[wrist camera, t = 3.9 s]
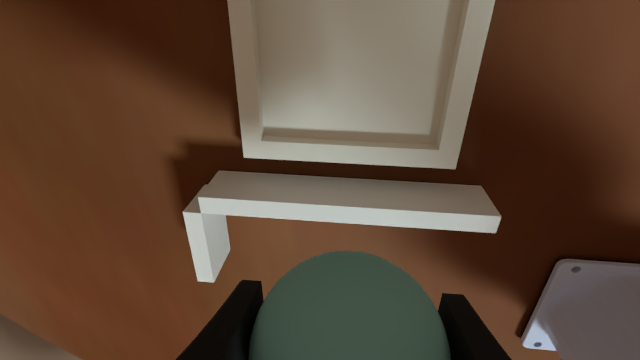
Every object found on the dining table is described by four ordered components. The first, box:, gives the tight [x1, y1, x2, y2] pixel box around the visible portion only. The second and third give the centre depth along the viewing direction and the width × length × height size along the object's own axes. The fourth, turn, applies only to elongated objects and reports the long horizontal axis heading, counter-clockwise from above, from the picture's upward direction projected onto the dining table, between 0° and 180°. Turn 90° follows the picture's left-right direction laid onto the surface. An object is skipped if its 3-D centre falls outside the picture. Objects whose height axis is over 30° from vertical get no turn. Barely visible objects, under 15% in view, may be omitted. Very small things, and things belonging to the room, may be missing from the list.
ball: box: [249, 251, 451, 360], centre depth 10 cm, size 6×6×6 cm
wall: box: [183, 170, 501, 282], centre depth 19 cm, size 16×6×3 cm, turn 89°
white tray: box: [227, 0, 495, 169], centre depth 15 cm, size 11×11×1 cm
